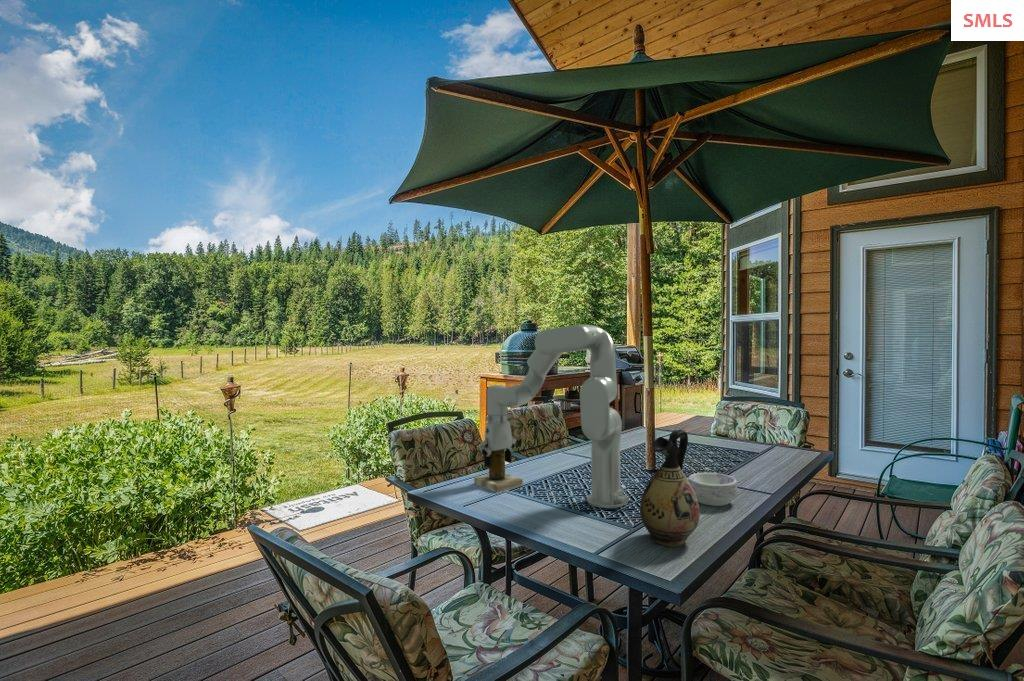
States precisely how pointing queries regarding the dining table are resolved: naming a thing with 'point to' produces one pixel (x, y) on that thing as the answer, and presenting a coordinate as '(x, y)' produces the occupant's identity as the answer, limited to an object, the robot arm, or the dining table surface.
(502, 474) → the condiment
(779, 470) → the dining table surface
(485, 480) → the board
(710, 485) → the white marble bowl
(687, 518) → the ceramic jug
